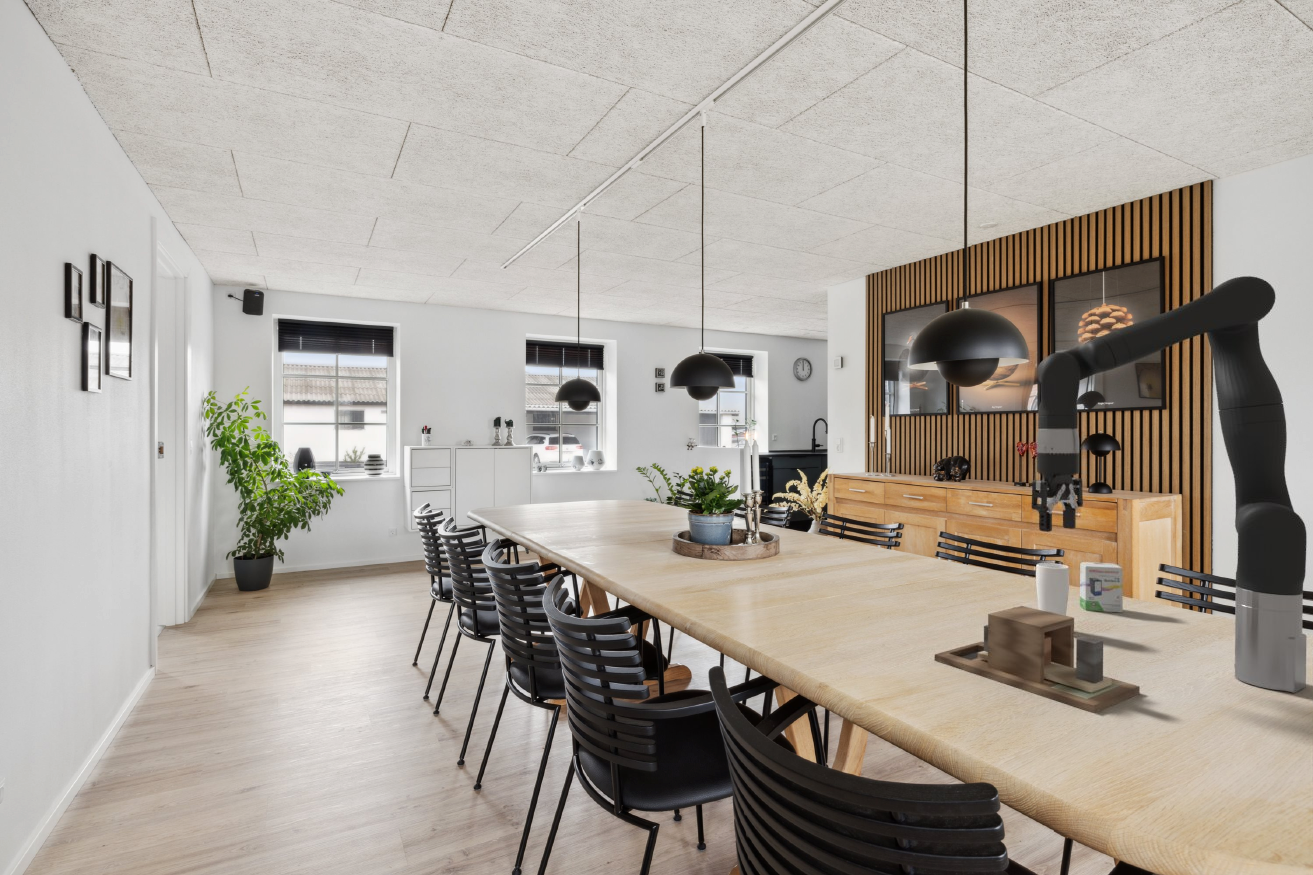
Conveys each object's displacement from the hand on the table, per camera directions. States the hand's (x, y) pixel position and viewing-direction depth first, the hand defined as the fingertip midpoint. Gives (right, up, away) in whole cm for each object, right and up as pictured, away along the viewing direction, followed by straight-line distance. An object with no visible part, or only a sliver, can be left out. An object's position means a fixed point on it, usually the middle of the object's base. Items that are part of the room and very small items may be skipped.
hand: (1057, 529), depth 140 cm
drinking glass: (+10, -26, +19) cm, 34 cm away
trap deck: (-12, -26, -11) cm, 31 cm away
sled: (-10, -25, -12) cm, 29 cm away
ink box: (+33, -26, +37) cm, 56 cm away
